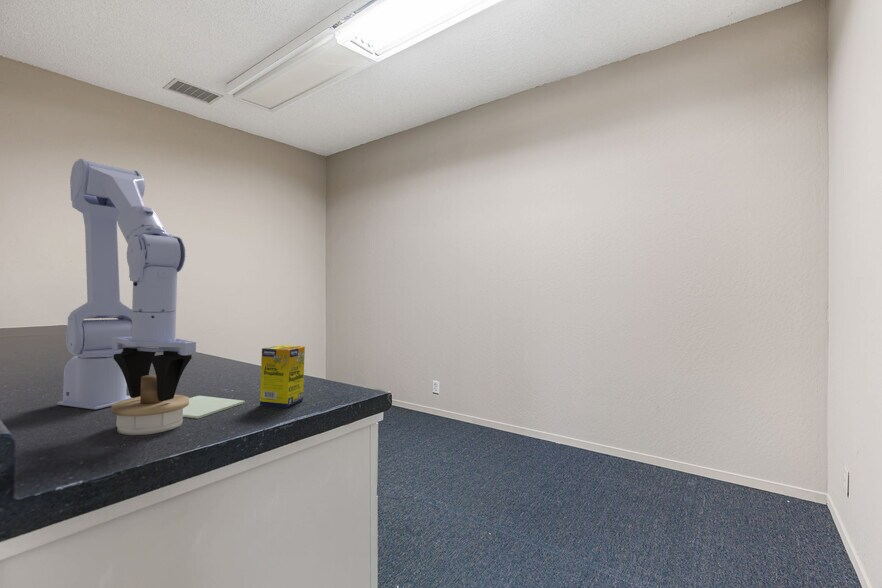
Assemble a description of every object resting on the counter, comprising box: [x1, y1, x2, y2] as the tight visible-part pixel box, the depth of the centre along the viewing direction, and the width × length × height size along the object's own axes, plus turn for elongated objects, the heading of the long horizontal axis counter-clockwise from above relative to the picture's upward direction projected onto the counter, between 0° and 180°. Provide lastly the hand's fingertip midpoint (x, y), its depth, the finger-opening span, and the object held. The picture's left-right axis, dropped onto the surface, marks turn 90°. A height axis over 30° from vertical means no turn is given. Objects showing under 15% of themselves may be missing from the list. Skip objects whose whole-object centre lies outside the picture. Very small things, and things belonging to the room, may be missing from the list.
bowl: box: [115, 408, 184, 436], centre depth 66 cm, size 8×8×3 cm
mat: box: [183, 395, 246, 420], centre depth 77 cm, size 11×11×1 cm
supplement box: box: [259, 344, 306, 409], centre depth 82 cm, size 6×6×11 cm
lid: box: [110, 374, 190, 416], centre depth 66 cm, size 10×10×5 cm
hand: (152, 398), depth 66 cm, fingers open, 5 cm apart
